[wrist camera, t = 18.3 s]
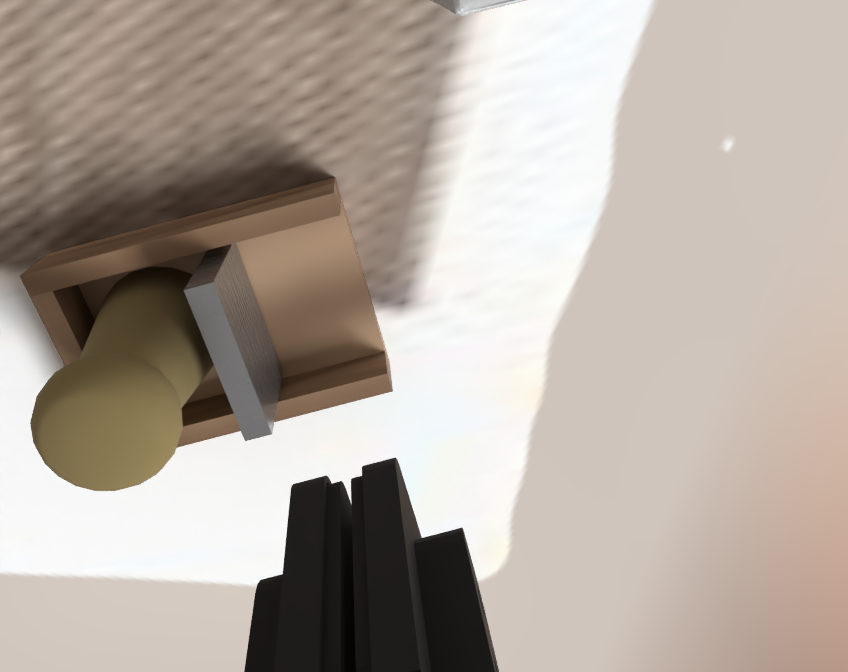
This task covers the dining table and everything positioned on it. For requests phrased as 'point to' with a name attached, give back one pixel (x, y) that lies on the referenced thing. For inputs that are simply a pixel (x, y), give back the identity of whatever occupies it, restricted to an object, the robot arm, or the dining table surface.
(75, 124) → the dining table surface
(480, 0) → the skincare box
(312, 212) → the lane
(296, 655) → the robot arm
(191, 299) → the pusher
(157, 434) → the cork
